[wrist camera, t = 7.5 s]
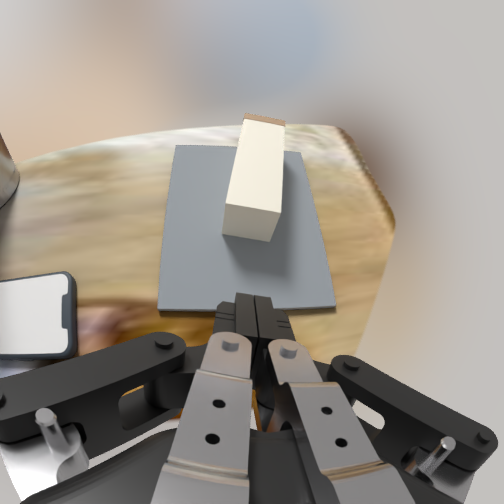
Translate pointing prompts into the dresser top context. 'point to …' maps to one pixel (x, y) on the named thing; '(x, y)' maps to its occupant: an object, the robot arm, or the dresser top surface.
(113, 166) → the dresser top surface
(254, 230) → the cream block
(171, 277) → the rubber mat
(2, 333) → the dark grey smartphone
